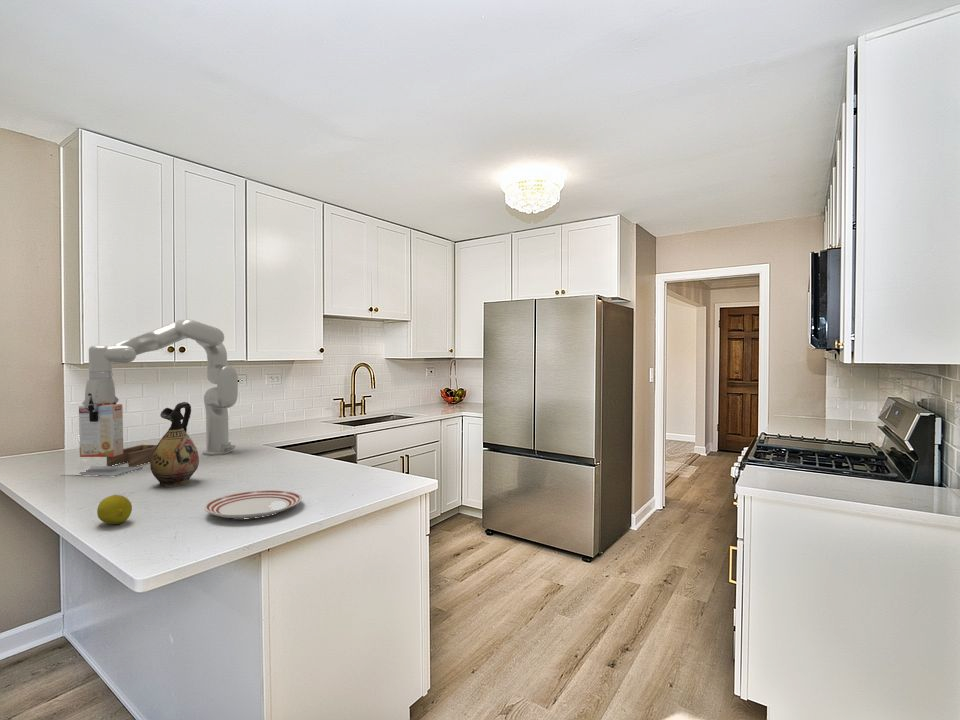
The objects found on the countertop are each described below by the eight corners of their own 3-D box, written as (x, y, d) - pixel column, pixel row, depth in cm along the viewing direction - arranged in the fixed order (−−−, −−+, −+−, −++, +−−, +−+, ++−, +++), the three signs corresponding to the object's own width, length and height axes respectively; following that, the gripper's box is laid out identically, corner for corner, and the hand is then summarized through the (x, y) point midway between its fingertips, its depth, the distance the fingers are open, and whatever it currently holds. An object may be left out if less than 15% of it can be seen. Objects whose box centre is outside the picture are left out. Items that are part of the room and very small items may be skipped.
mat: (142, 468, 210) (142, 467, 210) (114, 477, 196) (114, 475, 196) (91, 467, 213) (91, 465, 213) (60, 475, 199) (59, 473, 199)
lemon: (136, 524, 143) (135, 496, 142) (102, 531, 137) (101, 502, 137) (126, 515, 150) (126, 489, 150) (94, 522, 144) (93, 494, 144)
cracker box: (124, 454, 207) (123, 403, 207) (113, 457, 201) (112, 405, 201) (90, 454, 207) (89, 403, 207) (78, 457, 201) (77, 405, 201)
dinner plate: (273, 493, 174) (273, 483, 174) (319, 508, 157) (319, 497, 157) (188, 513, 153) (188, 502, 153) (230, 533, 136) (230, 521, 136)
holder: (164, 458, 230) (164, 445, 230) (131, 467, 211) (130, 453, 211) (142, 457, 232) (141, 444, 231) (106, 466, 213) (106, 452, 213)
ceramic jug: (177, 490, 177) (175, 405, 176) (140, 488, 180) (138, 404, 179) (212, 478, 194) (210, 400, 193) (177, 476, 197) (176, 400, 196)
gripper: (110, 375, 213) (111, 417, 213) (72, 377, 196) (73, 423, 196) (126, 375, 212) (127, 417, 212) (89, 377, 195) (90, 423, 195)
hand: (101, 420), depth 204 cm, fingers closed on cracker box, 6 cm apart
